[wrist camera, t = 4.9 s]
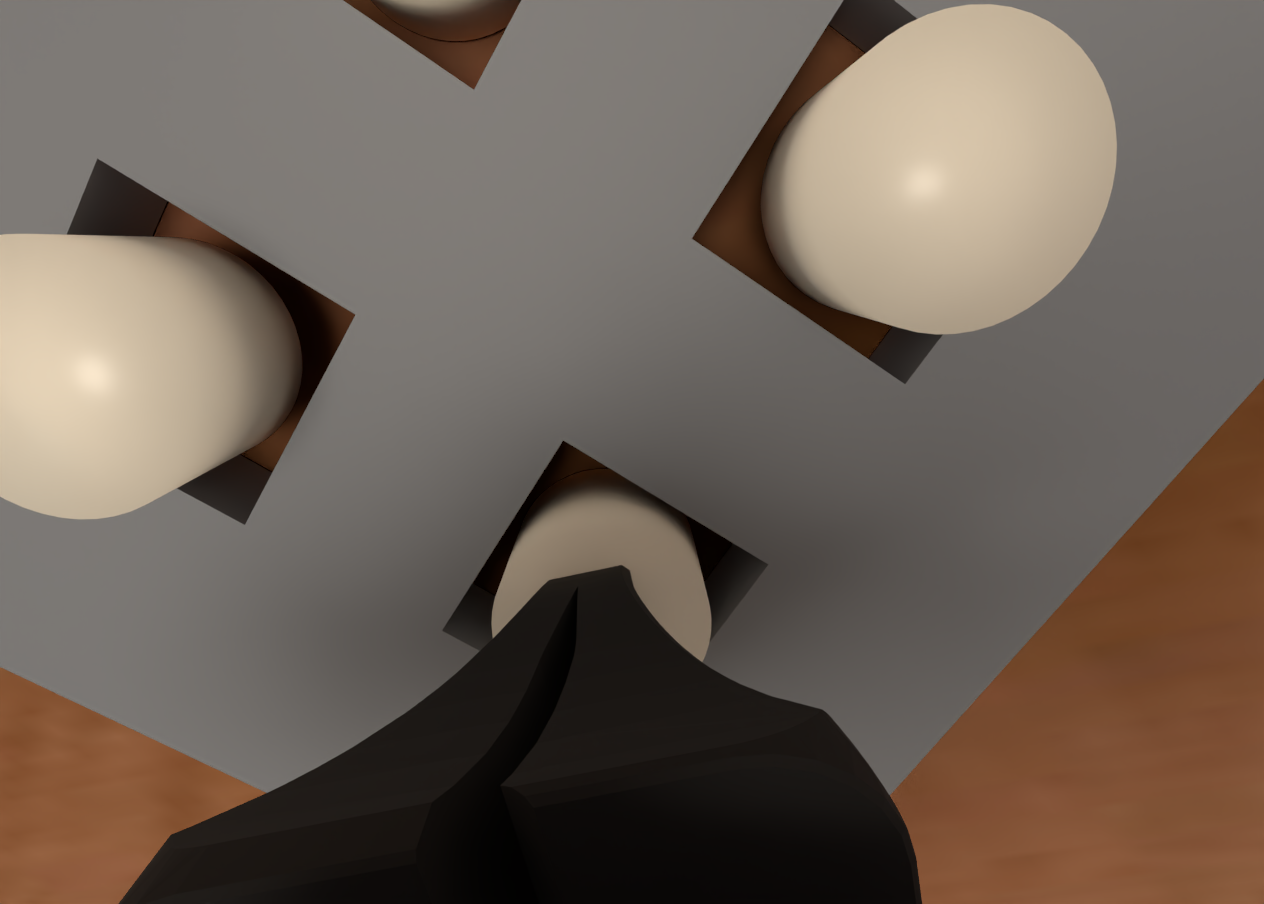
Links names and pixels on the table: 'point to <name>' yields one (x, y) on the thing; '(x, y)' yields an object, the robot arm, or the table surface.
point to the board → (605, 357)
